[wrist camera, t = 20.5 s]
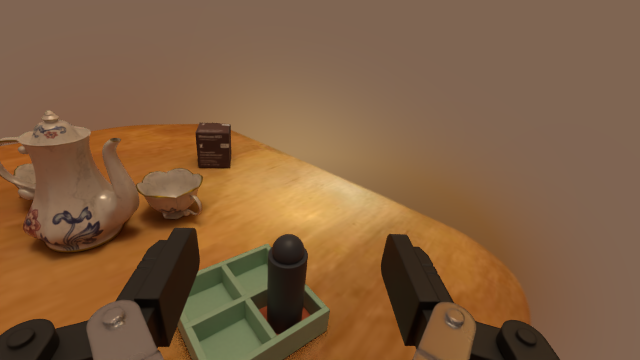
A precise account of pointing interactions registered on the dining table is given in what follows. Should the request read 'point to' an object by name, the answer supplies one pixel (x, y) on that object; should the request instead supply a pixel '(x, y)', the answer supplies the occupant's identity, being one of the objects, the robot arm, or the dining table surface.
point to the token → (286, 282)
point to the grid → (243, 313)
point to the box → (213, 145)
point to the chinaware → (87, 188)
